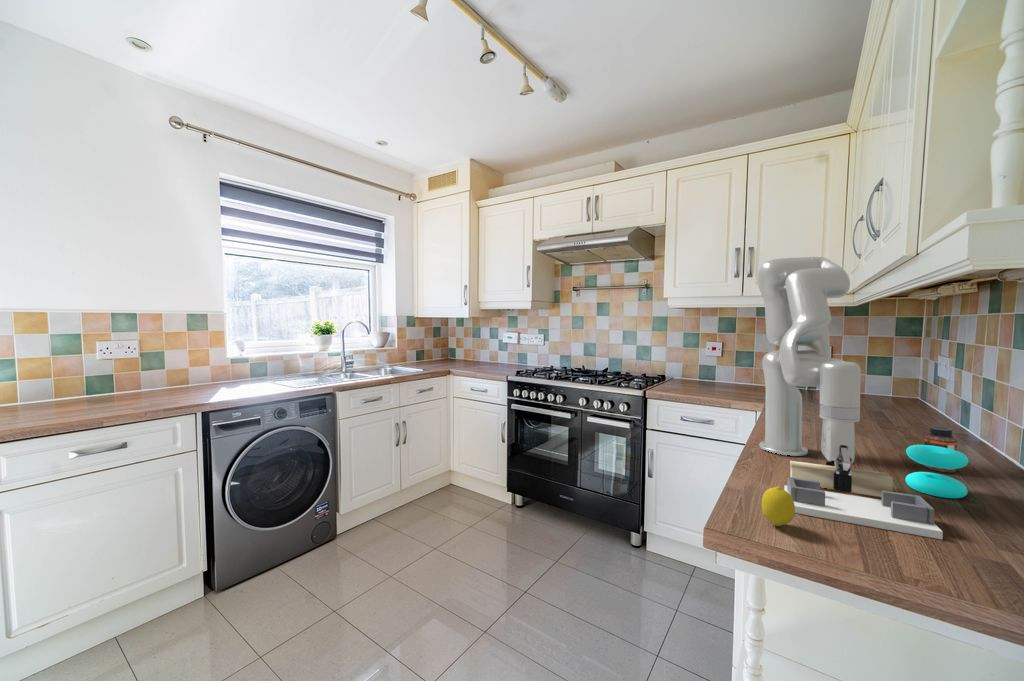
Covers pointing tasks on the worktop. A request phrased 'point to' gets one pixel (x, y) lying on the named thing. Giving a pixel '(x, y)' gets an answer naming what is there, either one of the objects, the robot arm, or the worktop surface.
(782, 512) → the lemon
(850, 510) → the board
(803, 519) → the worktop surface
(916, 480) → the donuts
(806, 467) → the slat
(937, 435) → the supplement bottle
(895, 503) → the end caps
